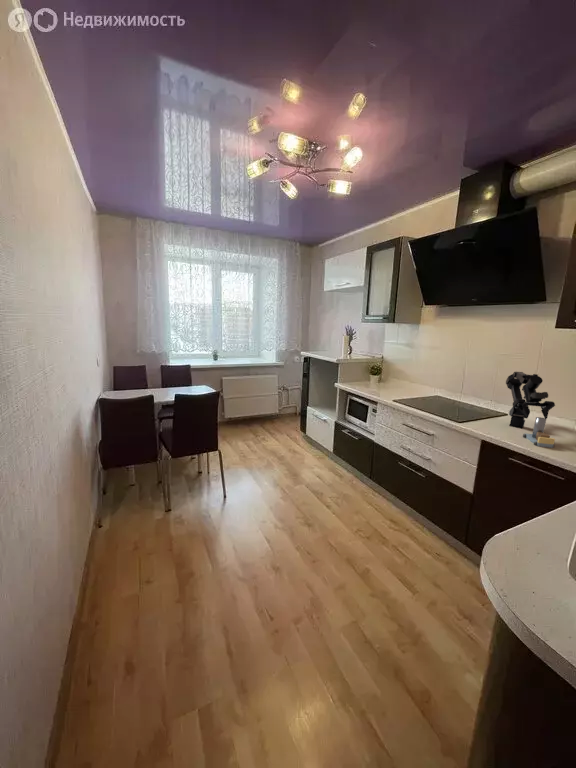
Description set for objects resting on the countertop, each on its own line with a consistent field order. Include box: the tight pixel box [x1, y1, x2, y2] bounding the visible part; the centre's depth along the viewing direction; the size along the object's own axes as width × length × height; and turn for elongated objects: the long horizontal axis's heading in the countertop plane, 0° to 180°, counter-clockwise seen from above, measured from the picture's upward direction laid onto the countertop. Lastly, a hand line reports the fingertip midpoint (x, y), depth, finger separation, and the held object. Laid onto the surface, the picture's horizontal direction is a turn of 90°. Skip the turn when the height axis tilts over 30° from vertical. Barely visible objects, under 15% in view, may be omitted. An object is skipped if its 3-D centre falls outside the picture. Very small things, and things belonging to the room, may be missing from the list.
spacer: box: [531, 416, 547, 438], centre depth 170 cm, size 4×4×11 cm
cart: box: [522, 432, 556, 449], centre depth 170 cm, size 14×9×5 cm, turn 169°
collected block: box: [536, 432, 551, 441], centre depth 166 cm, size 4×4×4 cm
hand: (536, 417), depth 173 cm, fingers open, 9 cm apart
